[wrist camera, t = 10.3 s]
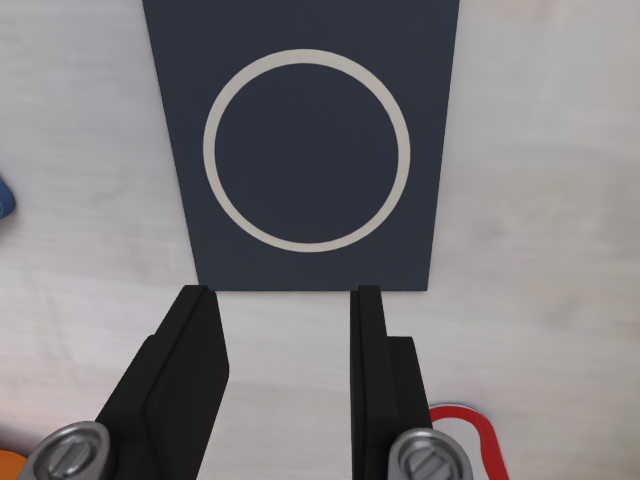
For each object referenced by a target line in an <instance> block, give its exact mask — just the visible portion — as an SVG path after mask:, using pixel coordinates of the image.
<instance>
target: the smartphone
mask: <svg viewBox="0 0 640 480" xmlns="http://www.w3.org/2000/svg"><path fill="white" fill-rule="evenodd" d="M13 206H14V202H13V198H12V195H11V193H10V192H9V190H8V189H7V187H6V186H5V185H4V184H3V182H2V181H1V180H0V219H2V218H4V217H5V216H7V215H8V214H10V213H11V211H12V210H13Z"/></svg>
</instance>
